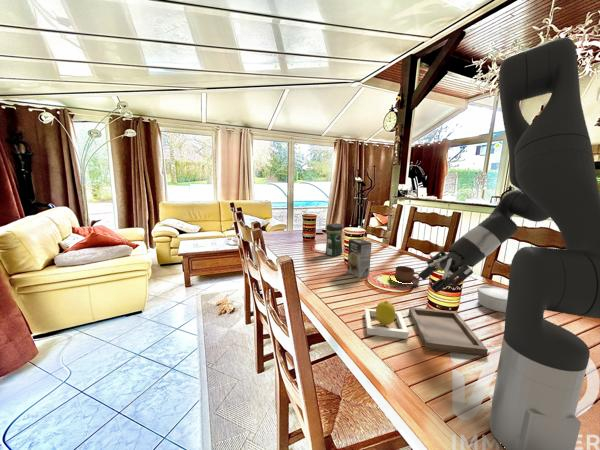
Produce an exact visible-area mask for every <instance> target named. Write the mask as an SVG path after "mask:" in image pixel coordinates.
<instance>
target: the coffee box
mask: <svg viewBox="0 0 600 450" xmlns="http://www.w3.org/2000/svg"><path fill="white" fill-rule="evenodd" d="M347 252H348V253H347V272H348V273H349V274H351V275H352V276H354V277H356V278H358V279H362V278H366V277H367V278H368V277H369V276H370V269H371V256H372V242H370V241H368V240H365V239H362V238H359V237H358V238H349V239H348V248H347ZM368 275H369V276H368Z"/></svg>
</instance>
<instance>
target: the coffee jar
mask: <svg viewBox="0 0 600 450" xmlns="http://www.w3.org/2000/svg"><path fill="white" fill-rule="evenodd" d="M325 227H326V228H325V232H326V245H325V254H326V255H327V256H328V257H329V256H330V257H331V256H332V257H336V256H340V255H342V254H343V243H342V235H343V224H341V223H339V222H337V223H336V222H335V223H329V224H327V225H326V226H325Z"/></svg>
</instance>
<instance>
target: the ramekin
mask: <svg viewBox="0 0 600 450" xmlns="http://www.w3.org/2000/svg"><path fill="white" fill-rule="evenodd" d="M476 291H477V300H478V302H479V304H480V306H483V307H484V308H487V309H488V310H489V309H490V310H492V311H495V312H499V313H506V306H507V298H508V289H506V288H504V287H503V288H502V287H499V286H495V285H479V286H478V287H477V289H476Z"/></svg>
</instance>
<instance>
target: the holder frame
mask: <svg viewBox="0 0 600 450" xmlns="http://www.w3.org/2000/svg"><path fill="white" fill-rule="evenodd" d="M371 317H372V318H376V308H366V307H365V308H364V318H365V328H366V334H367V335H369V336H370V335H371V336H378V337H387V338H395V339H396V338H397V339H404V340H409V333H410V331H409V330H408V327H407V324H406V323H405V320H404V317H403V315H402V312H401V311H396V310H395V319H394V320H396V322H397V324H398V326H399V328H393V327H386V326H375V325H372V319H371Z"/></svg>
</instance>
